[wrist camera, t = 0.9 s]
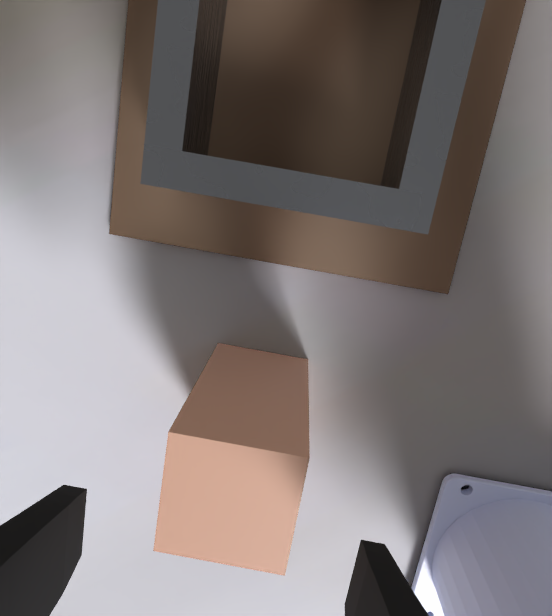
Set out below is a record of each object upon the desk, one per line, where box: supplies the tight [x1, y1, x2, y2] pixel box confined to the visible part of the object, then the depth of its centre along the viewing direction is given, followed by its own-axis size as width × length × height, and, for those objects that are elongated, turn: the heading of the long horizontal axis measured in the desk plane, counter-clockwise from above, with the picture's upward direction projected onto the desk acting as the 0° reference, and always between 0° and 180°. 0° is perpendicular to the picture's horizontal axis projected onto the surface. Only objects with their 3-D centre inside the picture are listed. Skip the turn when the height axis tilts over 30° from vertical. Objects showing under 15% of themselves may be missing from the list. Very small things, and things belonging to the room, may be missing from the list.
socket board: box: [109, 0, 526, 294], centre depth 16 cm, size 14×14×4 cm
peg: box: [153, 343, 309, 576], centre depth 18 cm, size 4×4×8 cm
